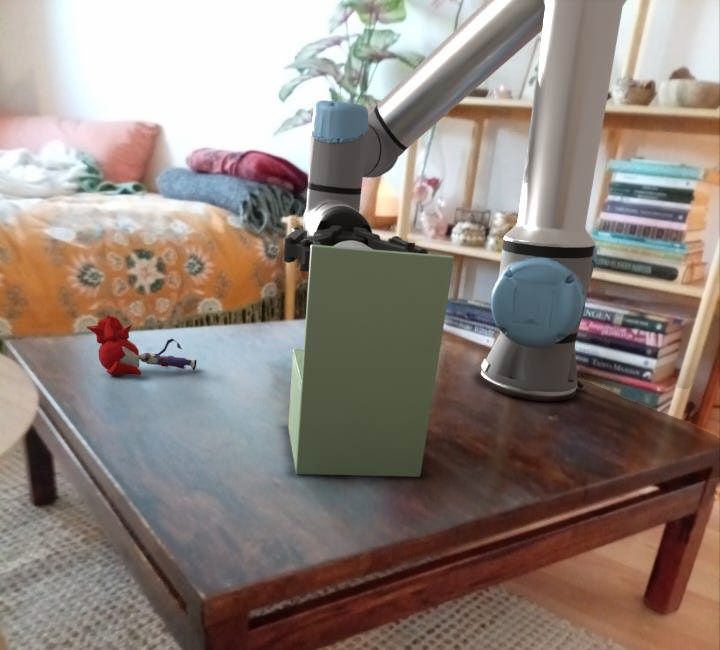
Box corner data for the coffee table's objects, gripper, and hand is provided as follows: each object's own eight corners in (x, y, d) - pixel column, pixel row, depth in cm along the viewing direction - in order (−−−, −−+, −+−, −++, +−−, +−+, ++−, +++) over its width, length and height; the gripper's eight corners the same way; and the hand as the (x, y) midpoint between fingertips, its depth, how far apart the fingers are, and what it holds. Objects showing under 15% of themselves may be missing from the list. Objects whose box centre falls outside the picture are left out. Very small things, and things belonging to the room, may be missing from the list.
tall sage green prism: (396, 431, 91) (423, 237, 80) (420, 477, 79) (454, 257, 69) (288, 427, 88) (300, 226, 77) (296, 474, 77) (311, 246, 66)
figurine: (192, 388, 105) (85, 374, 101) (198, 332, 105) (91, 316, 101) (194, 384, 99) (81, 369, 95) (200, 324, 99) (87, 307, 95)
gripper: (416, 271, 95) (462, 311, 76) (255, 258, 92) (259, 298, 72) (424, 212, 92) (474, 239, 72) (257, 197, 88) (262, 220, 68)
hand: (367, 268), depth 72 cm, fingers closed on ceramic mug, 9 cm apart
